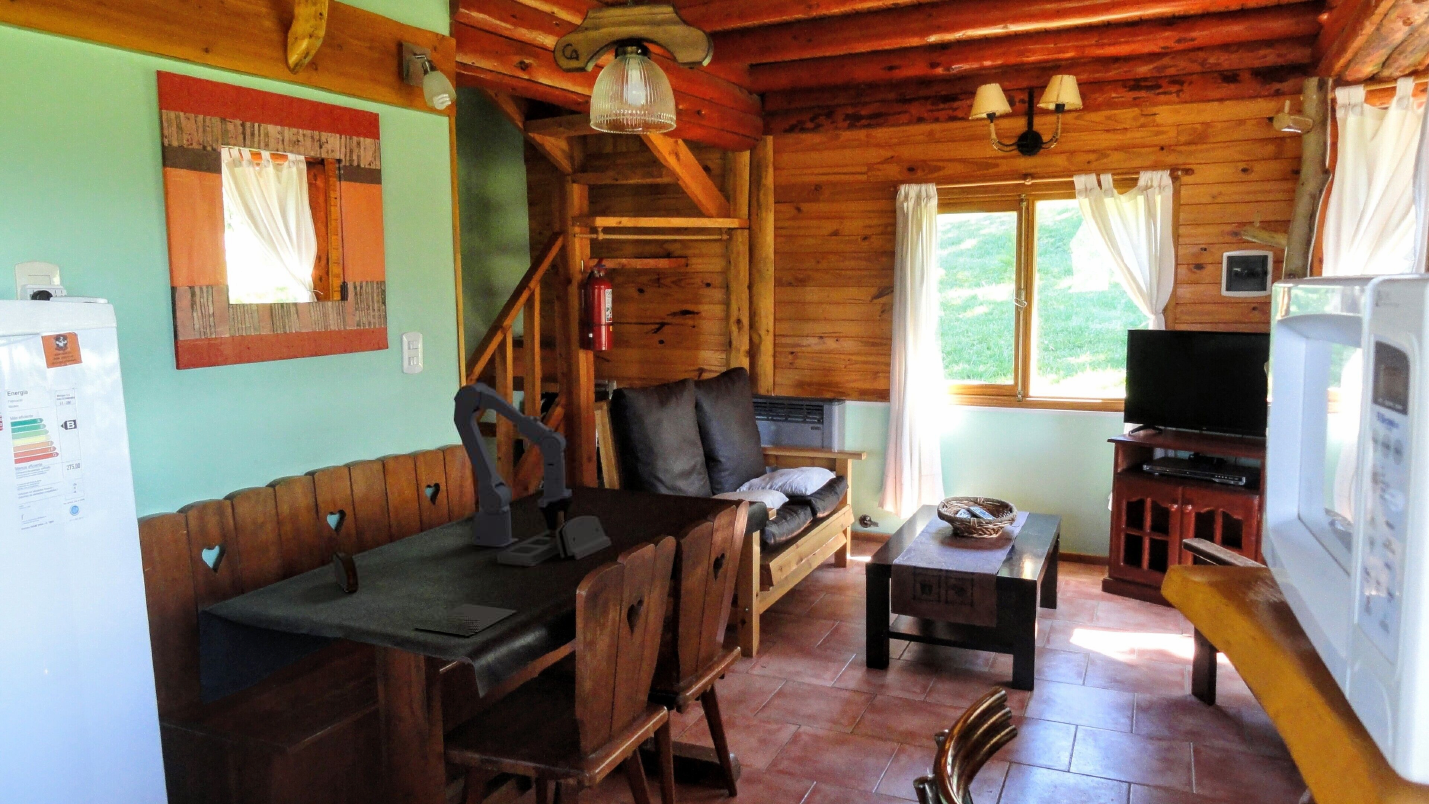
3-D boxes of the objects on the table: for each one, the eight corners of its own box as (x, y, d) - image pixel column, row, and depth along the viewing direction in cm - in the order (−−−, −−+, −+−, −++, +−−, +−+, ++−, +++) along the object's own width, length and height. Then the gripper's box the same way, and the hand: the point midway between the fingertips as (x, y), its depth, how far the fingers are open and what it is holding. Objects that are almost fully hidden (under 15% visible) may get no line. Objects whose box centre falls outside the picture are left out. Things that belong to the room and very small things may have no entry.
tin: (360, 594, 225) (358, 558, 224) (346, 596, 223) (343, 560, 222) (346, 578, 237) (343, 544, 236) (332, 581, 236) (330, 546, 235)
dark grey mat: (376, 625, 204) (376, 622, 204) (454, 591, 226) (454, 588, 226) (468, 639, 194) (468, 636, 194) (539, 601, 217) (539, 598, 217)
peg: (547, 541, 264) (545, 512, 263) (554, 537, 268) (553, 509, 267) (560, 542, 263) (558, 513, 262) (567, 538, 266) (566, 510, 265)
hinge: (576, 559, 249) (564, 522, 250) (562, 564, 251) (550, 527, 252) (612, 544, 264) (600, 508, 264) (599, 548, 266) (587, 513, 266)
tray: (497, 563, 248) (496, 553, 247) (550, 537, 272) (550, 529, 271) (531, 566, 244) (531, 556, 244) (582, 540, 268) (582, 531, 268)
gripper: (553, 484, 255) (555, 535, 257) (580, 474, 268) (582, 522, 270) (530, 482, 258) (532, 533, 259) (558, 472, 271) (560, 520, 273)
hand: (556, 527), depth 265 cm, fingers closed on peg, 4 cm apart
